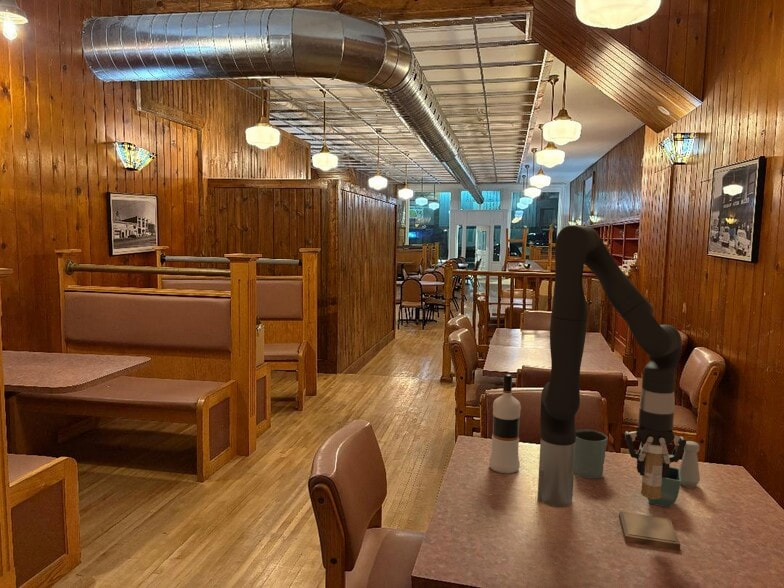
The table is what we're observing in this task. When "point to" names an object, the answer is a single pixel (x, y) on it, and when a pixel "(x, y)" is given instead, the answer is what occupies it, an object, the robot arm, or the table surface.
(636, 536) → the brown rectangular tray
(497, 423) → the vodka
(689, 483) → the salt shaker
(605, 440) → the green round cup
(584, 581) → the table surface
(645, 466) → the sprinkles bottle
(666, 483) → the flower pot
